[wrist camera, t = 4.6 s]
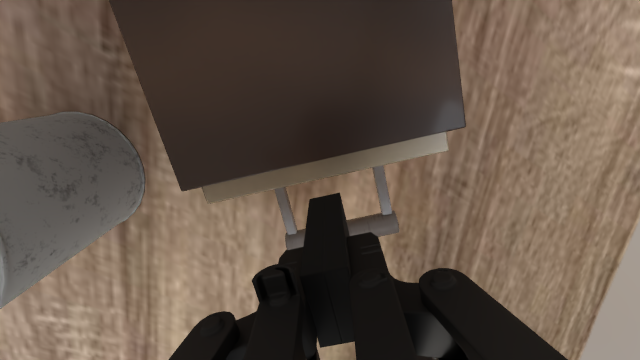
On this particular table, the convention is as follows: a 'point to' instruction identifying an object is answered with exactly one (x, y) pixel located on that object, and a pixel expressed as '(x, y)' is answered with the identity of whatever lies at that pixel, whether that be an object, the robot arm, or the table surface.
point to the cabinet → (290, 79)
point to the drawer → (328, 168)
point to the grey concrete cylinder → (60, 192)
